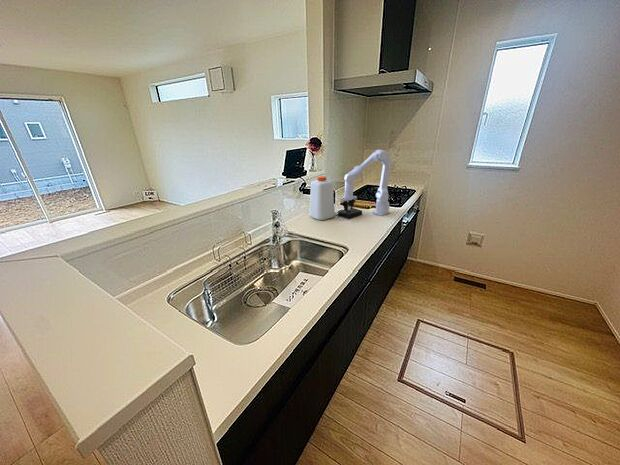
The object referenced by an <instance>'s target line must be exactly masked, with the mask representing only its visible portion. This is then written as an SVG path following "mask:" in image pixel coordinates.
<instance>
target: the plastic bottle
mask: <svg viewBox="0 0 620 465" xmlns="http://www.w3.org/2000/svg"><path fill="white" fill-rule="evenodd" d="M309 193H310V194H309V200H310V201H309V216H310V217H311V218H313V219H314V220H316V221H317V220H318V221H324V220H329V219H332V218H334V217H335V215H336V214H335V199H334V198H335V196H334V183H333V181H332V180H329V179H327V176H324V175H320V176H317V177H316V179H315V180H311V183H310V192H309Z"/></svg>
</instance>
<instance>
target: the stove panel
mask: <svg viewBox="0 0 620 465" xmlns="http://www.w3.org/2000/svg"><path fill="white" fill-rule="evenodd" d="M337 215H338V217H341V218H344V219H347V220H350V219H353V218H356V217H359V216H362V215H363V210H361V209H359V208H355V207H352V210H351V211H350V212H346V211H345V210H344V209H342V210H339V211H337Z"/></svg>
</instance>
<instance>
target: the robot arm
mask: <svg viewBox="0 0 620 465" xmlns="http://www.w3.org/2000/svg"><path fill="white" fill-rule="evenodd" d="M374 162H381V164H382V169H381V174H380V181H379V187H378V188H377V191H376V193H375V198H376V200H375V201H376V202H375V210H374V211H373V212H372V214H375V215H378V216H385V215H387V214H390V202H389V198H390V197H389V190H388V187H389V186H388V185H389V180H390V174H391V168H392V159H391V157H390V153H389V152H388V151H386V150H383V149H375V151H374V152H372V153H371V154H370V155H369V156H368V158H366V159H365V160H364V161H363V162H362V163H361V164H360V165H355V166H354V167H353V169H352V170H351V171H348V173H346V174H345V175H344V177H343V179H344V197H342V198H340V199H339V202H340V203H341V204H342V207H343V210H345V211H347V210H348V205H351V210H352V208H354V204H355V203H356V200H357V199H358V195H354V182H355V180H356V179H357V178H358V177H359V176H360V175H362V174H363V173H364V170H365V169H366V168H367V167H369V166H370V165H371V164H372V163H374Z"/></svg>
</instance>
